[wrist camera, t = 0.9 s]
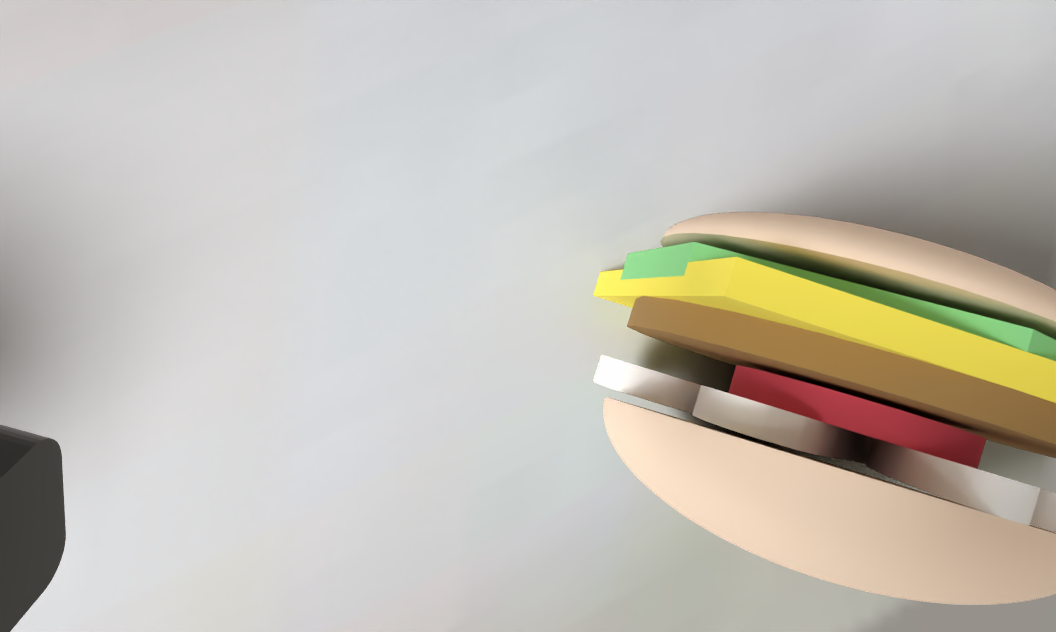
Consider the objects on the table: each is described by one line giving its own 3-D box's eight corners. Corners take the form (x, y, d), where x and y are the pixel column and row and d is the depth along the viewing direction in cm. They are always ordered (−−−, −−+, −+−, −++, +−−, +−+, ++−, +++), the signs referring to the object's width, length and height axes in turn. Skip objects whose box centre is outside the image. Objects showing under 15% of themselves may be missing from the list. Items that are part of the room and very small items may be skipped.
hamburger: (541, 463, 30) (639, 577, 18) (622, 200, 30) (773, 138, 18) (898, 566, 31) (1207, 733, 19) (972, 316, 31) (1324, 330, 19)
